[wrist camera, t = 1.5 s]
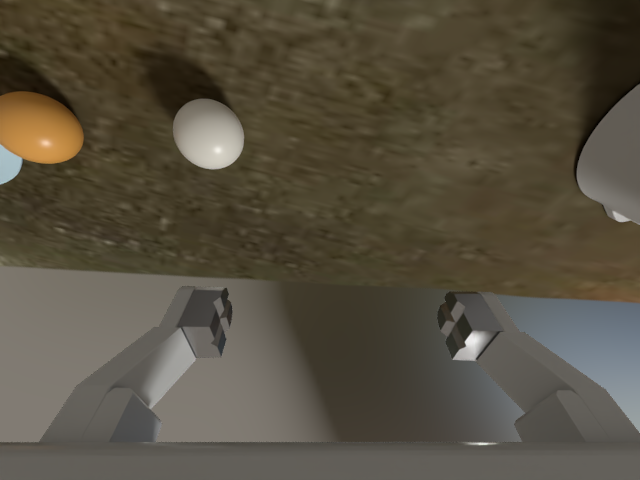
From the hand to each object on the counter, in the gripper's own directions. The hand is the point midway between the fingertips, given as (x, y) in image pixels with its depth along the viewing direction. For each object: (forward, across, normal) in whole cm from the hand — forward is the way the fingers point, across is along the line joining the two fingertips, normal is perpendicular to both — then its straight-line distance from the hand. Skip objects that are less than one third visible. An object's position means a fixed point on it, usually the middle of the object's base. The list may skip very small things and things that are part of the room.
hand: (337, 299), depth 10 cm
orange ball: (+17, +24, 0) cm, 29 cm away
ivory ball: (+17, +10, 0) cm, 20 cm away
